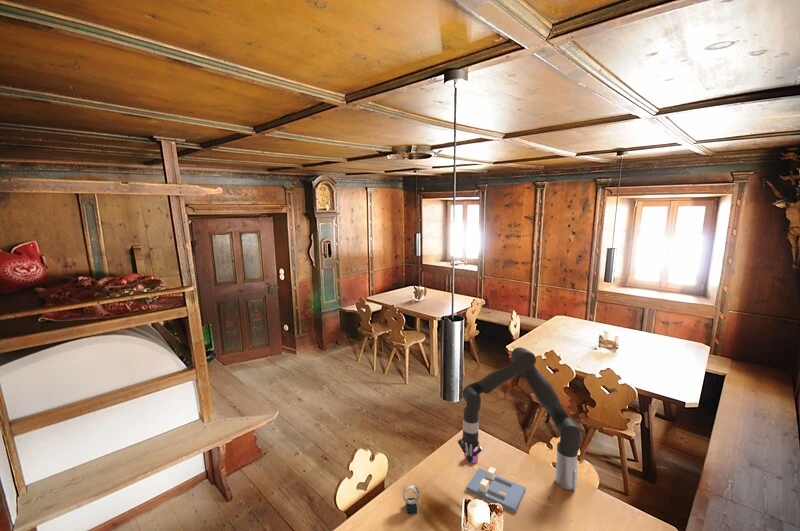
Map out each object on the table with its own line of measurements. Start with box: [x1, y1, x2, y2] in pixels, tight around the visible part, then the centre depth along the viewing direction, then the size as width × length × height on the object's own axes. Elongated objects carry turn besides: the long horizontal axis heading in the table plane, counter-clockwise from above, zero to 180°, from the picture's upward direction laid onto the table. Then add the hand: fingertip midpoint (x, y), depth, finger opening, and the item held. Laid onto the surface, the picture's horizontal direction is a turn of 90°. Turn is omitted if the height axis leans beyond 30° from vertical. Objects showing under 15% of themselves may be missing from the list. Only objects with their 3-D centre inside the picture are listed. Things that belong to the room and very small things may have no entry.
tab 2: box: [487, 466, 497, 480], centre depth 175 cm, size 3×4×4 cm
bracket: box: [465, 447, 479, 464], centre depth 196 cm, size 13×6×7 cm, turn 176°
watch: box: [402, 484, 421, 515], centre depth 158 cm, size 6×8×11 cm
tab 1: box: [480, 479, 489, 493], centre depth 167 cm, size 3×4×4 cm
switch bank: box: [465, 467, 527, 514], centre depth 169 cm, size 24×16×2 cm, turn 55°
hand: (469, 461), depth 170 cm, fingers closed
